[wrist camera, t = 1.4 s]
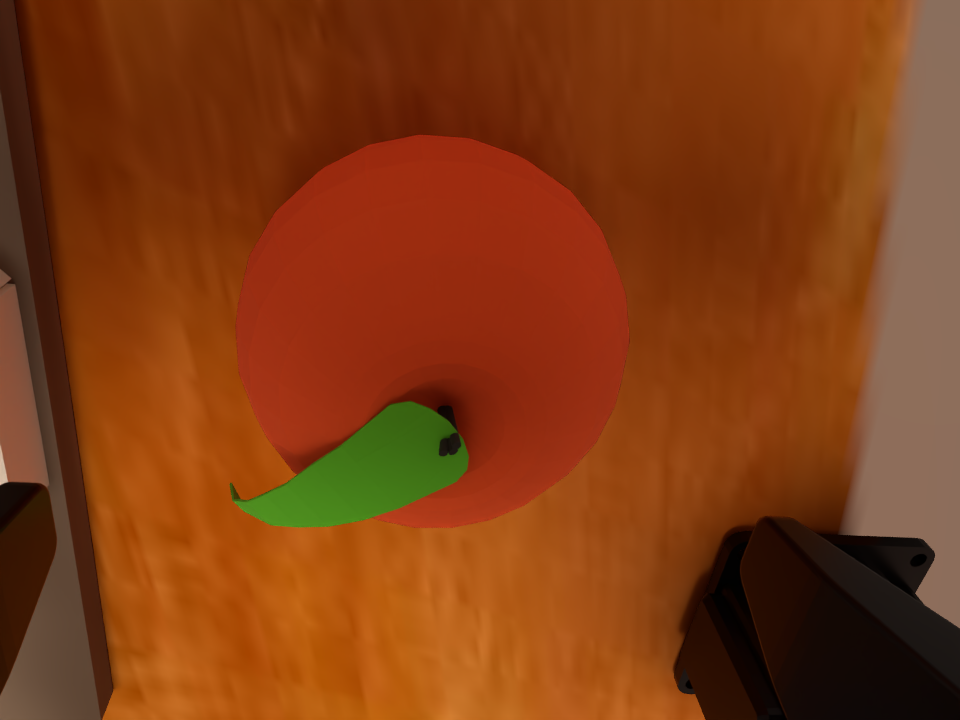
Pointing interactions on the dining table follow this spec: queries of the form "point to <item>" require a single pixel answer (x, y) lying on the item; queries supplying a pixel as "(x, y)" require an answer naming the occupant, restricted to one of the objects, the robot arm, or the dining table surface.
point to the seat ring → (17, 399)
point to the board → (47, 438)
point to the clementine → (428, 336)
